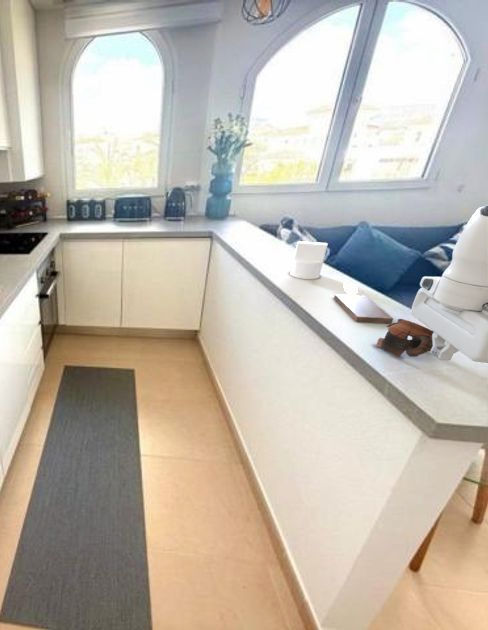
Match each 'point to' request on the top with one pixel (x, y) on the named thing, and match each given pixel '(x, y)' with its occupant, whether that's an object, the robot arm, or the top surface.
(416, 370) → the top surface
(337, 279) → the top surface
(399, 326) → the pottery mug
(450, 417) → the top surface
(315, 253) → the cylinder with rectangular tab
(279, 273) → the top surface
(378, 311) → the cutting board
